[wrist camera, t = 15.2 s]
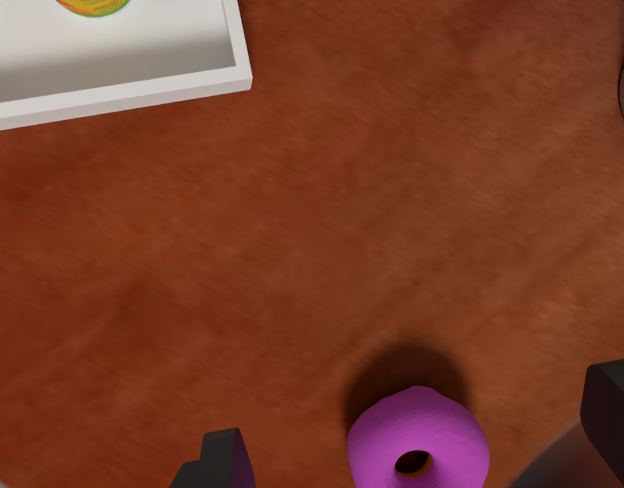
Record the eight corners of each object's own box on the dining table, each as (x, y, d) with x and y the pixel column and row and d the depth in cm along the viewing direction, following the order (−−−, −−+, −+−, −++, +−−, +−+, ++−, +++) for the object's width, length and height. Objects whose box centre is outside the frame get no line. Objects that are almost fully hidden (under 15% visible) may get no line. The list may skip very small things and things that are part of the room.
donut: (327, 405, 35) (341, 437, 31) (450, 358, 36) (480, 383, 32) (365, 520, 37) (384, 566, 32) (481, 472, 38) (513, 510, 34)
